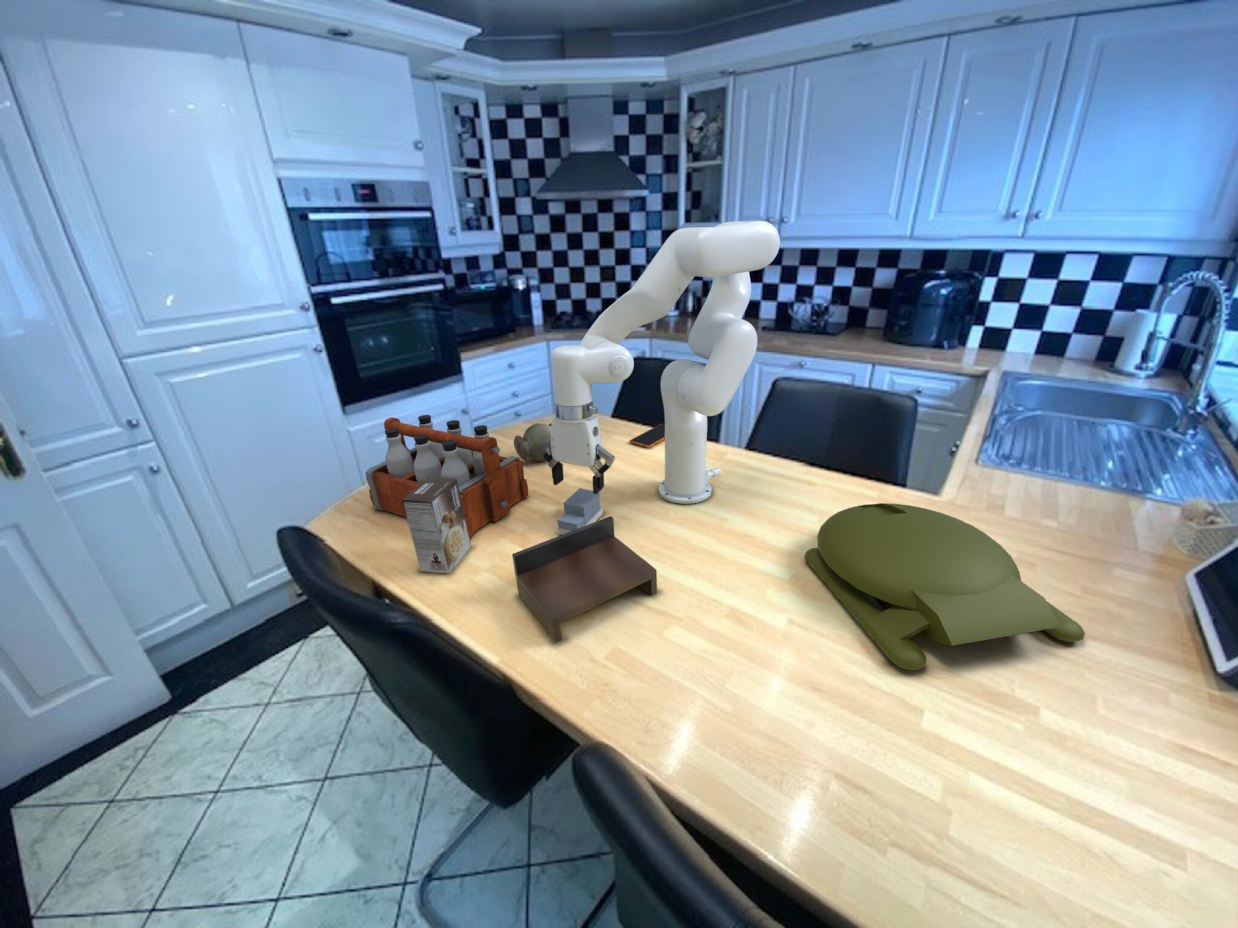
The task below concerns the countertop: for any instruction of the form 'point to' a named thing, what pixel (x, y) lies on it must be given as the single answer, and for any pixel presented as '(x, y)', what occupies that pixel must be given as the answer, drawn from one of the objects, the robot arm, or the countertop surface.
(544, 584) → the shelf rack
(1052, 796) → the countertop surface
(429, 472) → the milk bottle holder
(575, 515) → the stepped grey block
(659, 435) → the smartphone
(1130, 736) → the countertop surface
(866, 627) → the spaceship
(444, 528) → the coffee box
